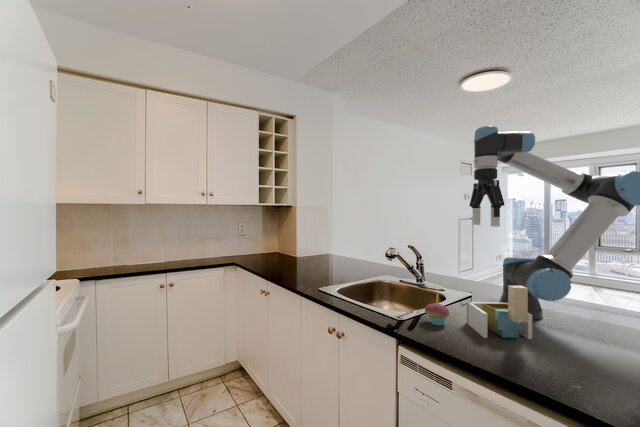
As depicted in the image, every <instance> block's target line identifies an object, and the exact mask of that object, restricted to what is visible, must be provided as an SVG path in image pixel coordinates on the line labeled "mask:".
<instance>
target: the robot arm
mask: <svg viewBox="0 0 640 427" xmlns="http://www.w3.org/2000/svg"><path fill="white" fill-rule="evenodd" d="M473 138H474V140H473V143H474V150H473V151H474V156H473V157H474V158H473V159H474V160H473V163H474V169H475V170H474V171H473V172H474V174H473V179H474V180H475V181H478V182H477V183H473V188H472V192H471V193H472V194H471V198H470V202H469V207H471V208H472V225H473V226H475V225H477V226H479V225H481V209H482V207H481V204H482V201H483V199H484V197H485V196H487V199H488V200H489V203H490V227H497V228H498V227H501V226H500V224H501V223H500V222H501V220H500V219H501V218H500V217H501V208H502V207H504V206H505V200H504V198H503V194H502V190H501V187H500V180H499V179H498V169H497V168H498V162H500V163H503V164H505V165H508V166H510V167H512V168H514V169H516V170H519V171H520V172H523V173H525V174H527V175H530V176H532V177H534V178H536V179H538V180H541V181H543V182H545V183H547V184H549V185H551V186H554V187H556V188H558V189H561V192H562V193H563V194H565V195H568V196H570V197H571V198H574V199H576V200H577V201H578V200H579V201H580V202H583V203H586V204H588V205H587V207H585V208H584V210H583V211H582V212H581V213H580V214H579V215H578V216H577V218H576V219H575V220H574V221H573V223H571V225H570V226H569V227H568V228H567V229H566V230H565V231H564V233H563V234H562V235H561V236H560V237H559V238H558V240H557V241H556V242H555V243H554V244H553V245H552V246H551V248H550V249H549V250H548V251H547V252H546V253H545V254H539V255H537V257H511V256H510V257H509V256H508V257H504V258H503V261H502V262H503V263H502V294H501V296H500V299H499V301H498V303H508V285H515V286H524V287H526V288H528V313H530V314H531V315H532V320H540V319H543V317H544V316H543V315H544V313H543V311H544V310H543V309H542V306H541V303H540V301H539V300H543V301H548V302H556V301H559V300H562V299H564V298H565V297H567V295H569V293H570V292H571V290H572V285H571V284H572V280H571V279H572V278H573V277H574V273H573V268H574V267H575V266H576V265H577V264H578V263H579V262H580V260H581V259H583V257H585V255H586V254H587V252H589V250H590V249H591V248H592V247H593V245H595V243H596V242H598V240H600V237H602V236H603V234H605V233H606V231H607V230H608V229H609V228H610V226H611V225H612V224H613V223H614V222H615V221H616V220H617V219H618V218H619V217H626V216H627V215H628V214H630V213H631V211H632V210H633V209H634V208H635V207H636V206H640V171H636V170H632V171H631V170H630V171H629V170H628V171H627V170H626V171H621V172H618V173H610V174H609V173H608V174H602V175H590V174H587V173H585V172H582V171H577V172H574V171H573V170H570V169H568V168H566V167H563V166H561V165H559V164H556V163H554V162H552V161H549V160H547V159H545V158H543V157H541V156H538V155H536V154H534V153H532V152H531V151H532V150H533V148H534V147H535V144H536V136H535V134H534V132H532V131H523V130H522V131H507V132H506V131H503V132H501V131H499V128H498V126H495V125H484V126H481V127H478V128H477V129H475V132H474V137H473Z"/></svg>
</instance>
